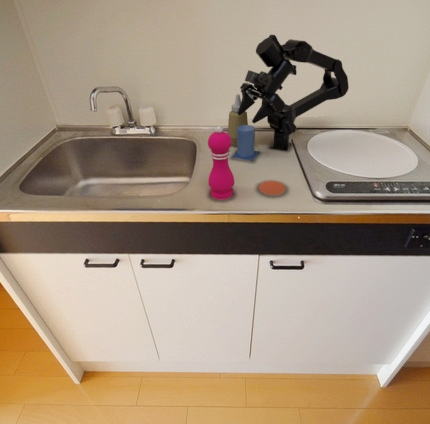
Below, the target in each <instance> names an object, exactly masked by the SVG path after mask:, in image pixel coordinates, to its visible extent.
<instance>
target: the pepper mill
mask: <svg viewBox="0 0 430 424" xmlns="http://www.w3.org/2000/svg"><path fill="white" fill-rule="evenodd" d="M223 130H224V128H223V127H222V126H220V125H218V126H216V127H215V131H214V132H212V133H210V135H209V136H208V139H207V146H208V148H209V149H210V158H212V168H211V170H210V173H209V175H208V186H209V188H210V196H211V197H212V198H213V199H216V200H227V199H229V198H231V197H232V196H233V194H234V189H233V187H234V185H235V177H234V174H233V172H232V170H231V168H230V165H229V157H231V153H230V152H231V151H230V149H231V147H232V145H231V143H232V142H231V137H230V136H229V135H228V132H226V131H223Z"/></svg>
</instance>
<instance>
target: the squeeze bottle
mask: <svg viewBox="0 0 430 424" xmlns="http://www.w3.org/2000/svg"><path fill="white" fill-rule="evenodd" d="M241 101H242V98H241V95H240V94H239V93H238V94H236V95H235V100H234V104H231V110H230V111H229V113H228V122H227V123H228V124H227V134H228V135H229V136H230V137H231V142H232V143H231V146H233V147H237V127H239V126H241V125H249V122H248V120H249V119H248V111H247V110H246V111H245V112H244V113H242V114H241V115H238V114H237V113H238V110H239V107H240V104H241Z"/></svg>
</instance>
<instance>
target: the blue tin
mask: <svg viewBox="0 0 430 424" xmlns="http://www.w3.org/2000/svg"><path fill="white" fill-rule="evenodd" d="M255 140H256V127H255V125H251V124H248V125H241V126H239V127H237V146H236V152H237V155H238V156H239V157H242V158H249V157H252V156H254V151H255V142H256V141H255Z"/></svg>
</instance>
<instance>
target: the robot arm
mask: <svg viewBox="0 0 430 424" xmlns="http://www.w3.org/2000/svg"><path fill="white" fill-rule="evenodd" d="M255 53H256V55H257V56H258V58H260V60H261V62H262V63H263V64H264V65H265V66H266V68H270V69H269V70H268V71H267V72H266V71H262V70H261V71H260V72H259V73H258V72H256V71H253V70H249V69H248V70H247V72H246V75H245V78H244V81H245V82H243V83H242V84H241V86H240V87H239V89H240V93H241V96H242V97H241V104H240V107H239V110H238V113H237V114H238V115H241V114H242V113H244V112H245V111H246V112H247V110H249V109H250V108H251V107H252V106H253V105H255V103H256V101H257V100H258V99H260V100H261V106H260V107H259V109H258V110H257V111H256V113H255V114H254V116H253V118H252V119H251V123H252V124H256V123H258V122H259V121H262V120H263V119H265V118H266V121H267V123H268V125H269V128H270V129H273V140H272V141H273V142H272V143H271V145H270V146H269V147H270V149H274V150H282V151H288V150H289V149H290V147H291V145H292V142H290V135H293V134H294V133H296V130H297V125H296V124H295V121H296V119H297V118H298V117H300V116H301V115H303V114H305V113H307V112H309V111H310V110H312V109H314V108H316V107H318V106H319V105H321V104H323V103H324V102H327V101H330V100H331V101H333V100H338V99H340V98H343V97H344V96H346V94H347V93H348V91H349V89H350V88H349V78H348V75H347V73H346V71H345V69H344V67H343V62H342V60H340V59H337V58H335V57H331V56H329V55H327V54H324V53H322V52H320V51H317V50H315V49H314V48H313V46H312V45H311V44H309V43H308V42H307V41H306V40H299V39H292V38H291V39H288V40H287V41H285V42H284V44H281V43H280V42H279V40H278V38H277V36H276V35H275V34H270V35H269V36H268V37H266V38H264V39H262V41H261V42H259V43H258V44H257V46H256V47H255ZM292 62H296V63H303V64H306V63H307V64H309V65H311V66H315V67H317V68H320V69H323V71H324V74H323V76H322V83H321V85H320V87H319V88H318V89H316V90H315V91H313V92H311V93H310V94H307V95H306V96H304V97H302V98H300V99H298V100H296V101H295V102H293V103H291V104H286V103H285V101H284V100H283V99H282V98H281V96H280V95H279V94H278V93H277V92H278V90H279V91H282V90H283V88H284V87H283V86H282V85H283V83H285V80H286V79H287V78H288V76H289V75H293V76H296V75H297V73H298V72H297V65H295V64H293V63H292ZM332 73H333V75H334V77H333V76H332Z"/></svg>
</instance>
